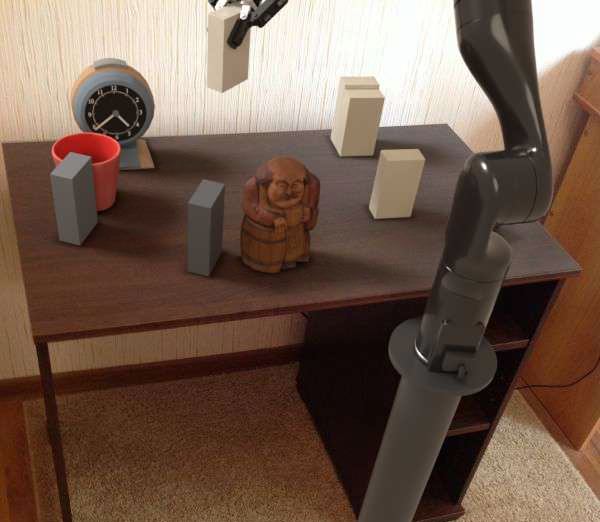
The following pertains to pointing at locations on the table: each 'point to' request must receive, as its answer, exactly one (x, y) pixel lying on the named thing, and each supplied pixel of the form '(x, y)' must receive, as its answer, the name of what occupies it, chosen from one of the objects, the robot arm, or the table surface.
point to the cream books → (361, 142)
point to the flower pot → (94, 162)
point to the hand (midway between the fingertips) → (221, 41)
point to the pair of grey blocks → (83, 217)
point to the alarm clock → (115, 108)
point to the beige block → (226, 50)
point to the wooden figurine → (279, 215)
